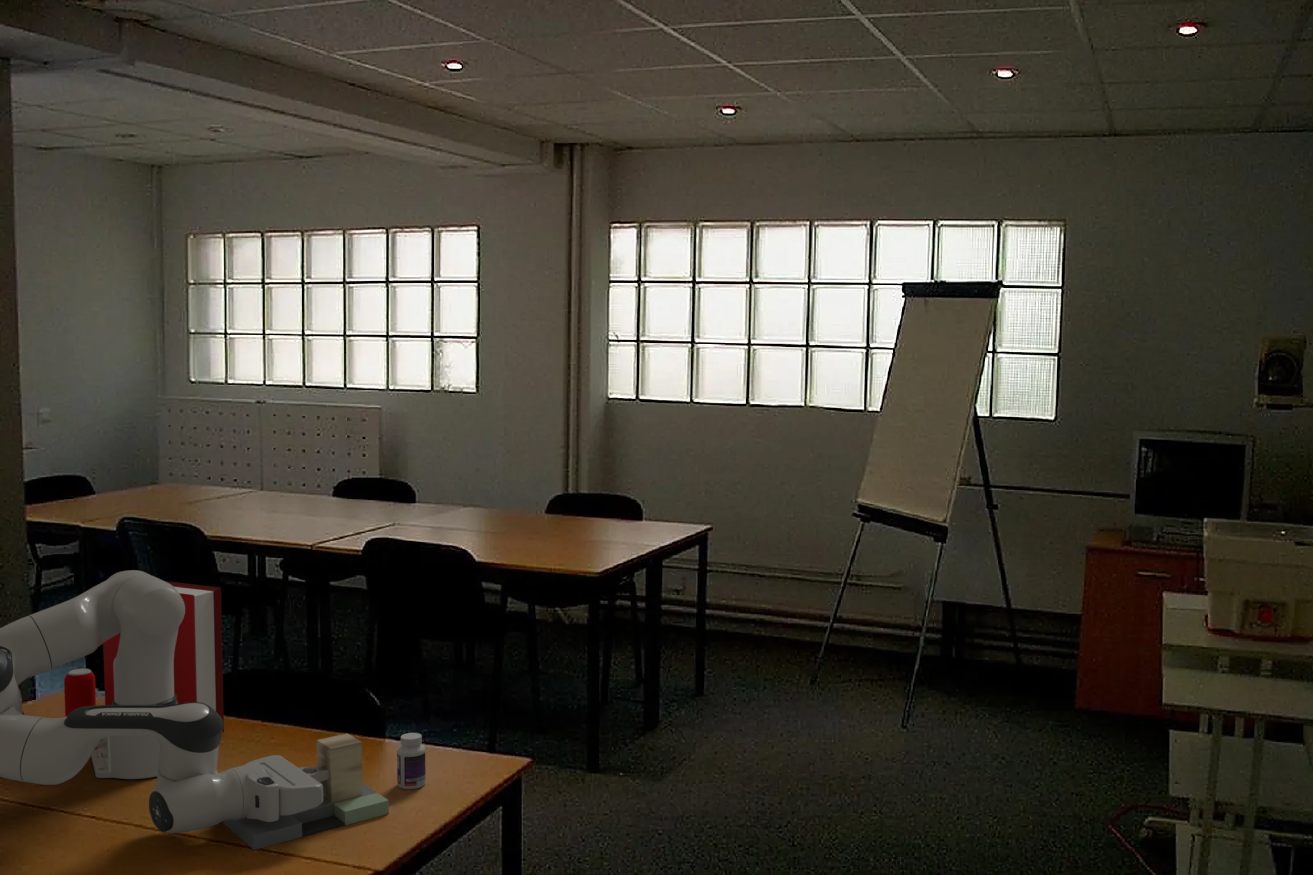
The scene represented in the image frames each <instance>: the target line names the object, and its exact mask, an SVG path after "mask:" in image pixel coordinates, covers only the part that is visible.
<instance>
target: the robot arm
mask: <svg viewBox="0 0 1313 875" xmlns="http://www.w3.org/2000/svg"><path fill="white" fill-rule="evenodd" d="M165 581H166V580H163V579H162V578H161V579H160V578H158V577H156V576H154V575H151V574H149V573H147V572H145V571H142V570H135V569H131V570H123V571H119V572H115V573H114V574H112V575H111V576H109V578H107V579H106V580H104V581H101V582H100V583H99V584H96V585H95V586H92V587H91V588H89V589H87V590H86V591H84V592H83V593H81V594H79V595H77V596H75V597H73V598H71V599H69V600H66V601H64V602H61V603H58V604H55V605H53V606H50V607H48V608H45V609H42V610H39V611H37V612H34V613H32V614H29V615H27V616H24V617H21V618H19V619H17V620H14V621H12V622H10V623H8V624H6V625H4V626H2V627H0V778H4V779H8V780H12V781H17V782H22V783H29V784H36V785H41V786H42V785H43V786H49V785H50V786H52V785H53V786H54V785H60V784H63V783H65V782H67V781H69V780H71V779H73V777H75V776H76V775H77V774H78V773H80V772H81V770H83V768H84V767H85V766H86V764H87V763H88V761H89V760H90V758H91V761H92V766H93V771H94V773H95V774H94V775H95V778H97V779H107V778H108V779H112V778H114V779H123V780H138V779H140V780H141V779H150V778H155V777H156V785H155V788H154V790H153V791H151V792H150V795H149V798H148V812H149V814H150V818H151V820H152V822H153V825H154V826H155V827H156V828H157V830H158V831H160V832H161V833H163V834H180V833H189V832H194V831H199V830H203V829H208V828H211V827H214V826H216V825H218V824H219V823H222V821H227V820H231V821H235V820H240V819H244V818H248V819H258V820H262V821H265V822H274V821H277V820H279V815H282V816H286V815H292V814H296V813H299V812H303V811H306V810H309V809H312V808H315V807H318V806H319V805H320V804H322V802H323V785H322V784H321V783H319V782H320V781H324V780H328V779H329V771H328V770H326V769H325V768H323V767H322V766H317V765H316V766H312V767H311V766H310V767H309V766H301V767H298V766H296V765H295V764H293V763H292V762H290V761H289V760H287V759H286V758H284V757H283V756H282V755H279V754H278V755H277V754H276V755H275V754H273V755H268V756H264V757H260V758H257V759H255V760H251V761H249V762H246V763H244V765H239V766H236V767H231V768H230V767H229V768H227V769H225V770H223V771H221V772H219V771H218V770H217V767H218V759H219V748H220V744H221V738H222V735H223V732H222V730H223V720H222V718H221V717H220V716H219V714H218V713H217V712H216V711H215V710H214V709H213V708H211V707H210V706H208V705H206V704H204V703H200V702H187V703H179V704H178V702H177V696H176V694H175V693H174V652H175V645H176V640H177V635H178V629H179V625H180V624H181V622H182V620H183V618H184V615H185V605H184V601H183V599H182V598H181V596H180V594H179V593H178V591H177V590H176V589H175V588H174V587H173V586H172V585H171V584H169V583H167V582H165ZM119 633H120V642H119V647H118V652H117V656H116V658H115V659H114V663H113V671H114V700H113V702H112V705H105V704H98V705H97V704H96V705H95V706H86V707H81V708H77V709H75V710H73V711H72V712H71V713H70V714H69V715H68V716H67V717H65V716H63V717H57V718H56V717H54V718H53V717H45V716H44V717H43V716H36V715H25V713H24V710H23V700H22V699H23V698H22V694H21V690H20V688H19V686H20V684H21V683H23V682H24V681H25V680H27V679H28V678H32V677H35V676H37V675H41V674H43V673H47V672H48V671H50V670H51V671H52V670H54V669H56V668H59V667H61V666H63V665H66V664H68V663H71V662H73V661H75V660H78V659H81V658H83V657H85V656H88V655H90V654H93V653H94V652H95V651H96V650H98V648H99V647H100V646H102V645H103V643H104V642H106V641H107V640H109V639H111V638H112V637H114V636H116V635H117V634H119Z"/></svg>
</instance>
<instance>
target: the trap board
mask: <svg viewBox="0 0 1313 875" xmlns="http://www.w3.org/2000/svg"><path fill="white" fill-rule="evenodd" d="M389 802H390V800H389V799H387V798H386V797H384V796H383V795H381V794H380V793H378V792H376V791H375V790H373V789H372V788H371V787H369V786H367V785H366V784H364V783H363V782H362V795H360V796H356V797H352V798H348V799H344V800H340V801H336V802H332V803H331V802H330V801H329V800H327V799H326V798H324V797H323V802H322V804H320V805H319V806H318V807H315V808H312V809H309V810H306V811H303V812H299V813H296V814H292V815H286V816H282V815H279V820H277V821H274V822H265V821H262V820H258V819H248V818H244V819H240V820H235V821H231V820H227V821H222V822H221V823H222V824H224V826H226V827H227V828H228V829H229V830H230V831H231V832H233V833H234V834H235V835H236V836H238V838H239V839H240V840H242V841H243V842H244V843H245V844H246V845H248V847H249V848H251V849H252V850H253V851H256V850H259V849H263V848H267V847H271V846H275V845H278V844H281V843H285V842H289V841H292V840H293V841H294V840H297V839H300V838H304V837H308V836H311V835H315V834H319V833H323V832H326V831H330V830H334V829H336V828H340V827H344V826H348V825H352V824H356V823H359V822H362V821H367V820H370V819H373V818H377V817H382V816H385V815H388V814H389V812H390V808H389V807H390V803H389Z"/></svg>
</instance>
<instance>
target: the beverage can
mask: <svg viewBox="0 0 1313 875" xmlns="http://www.w3.org/2000/svg"><path fill="white" fill-rule="evenodd" d="M63 682H64V683H63V685H64V686H63V687H64V689H63V690H64V714H65V715H64V717H67V716H68V715H69V714H70V713H71V712H72V711H73V710H75V709H77V708H81V707H86V706H95V705H97V695H96V692H97V691H96V688H97V687H96V676H95V674H94V673H93V671H92V670H91V669H89V668H77V669H72V670H70V671H69V672H67V674H66V675H65V677H64V679H63Z"/></svg>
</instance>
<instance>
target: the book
mask: <svg viewBox="0 0 1313 875" xmlns="http://www.w3.org/2000/svg"><path fill="white" fill-rule="evenodd" d="M164 581H165V582H167V583H169V584H171V585H172V586H173V587H174V588H175V589H176V590H177V591H178V593H179V594H180V596H181V598H182V599H183V601H184V605H185V615H184V618H183V620H182V622H181V624H180V625H179V629H178V635H177V640H176V645H175V652H174V693H175V694H176V696H177V702H178V704H179V703H187V702H200V703H204V704H206V705H208V706H210V707H211V708H213V709H214V710H215V711H216V712H217V713H218V714H219V716H220V717H221V718H222V720H223V730H222V733H224V732H225V721H224V719H225V718H224V716H225V715H224V714H225V713H224V712H225V711H224V673H223V672H224V669H223V668H224V667H223V661H224V660H223V626H222V625H223V624H222V623H223V622H222V621H223V620H222V618H223V617H222V614H223V613H222V587H219V586H210V585H202V584H201V585H200V584H193V583H183V582H175V581H167V580H164ZM119 642H120V633H119V634H117V635H116V636H114V637H112V638H111V639H109V640H107V641H106V642H104V643H103V644H102V646H103V671H104V672H103V674H104V677H103V678H104V680H103V681H104V705H112V702H113V700H114V671H113V663H114V659H115V658H116V656H117V652H118V647H119Z"/></svg>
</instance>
